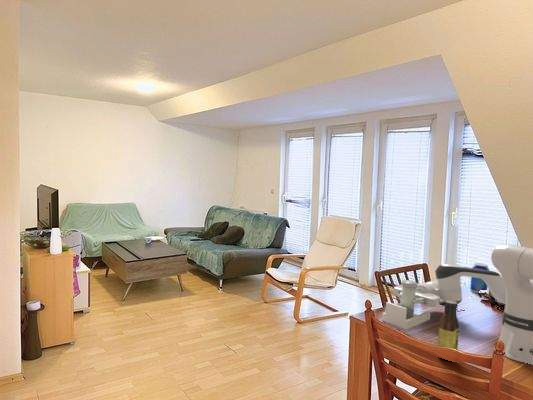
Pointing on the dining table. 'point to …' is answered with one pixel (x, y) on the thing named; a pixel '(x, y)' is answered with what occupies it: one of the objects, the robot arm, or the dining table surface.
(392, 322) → the pusher lane
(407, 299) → the jar
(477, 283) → the beer can
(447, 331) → the sauce bottle
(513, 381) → the dining table surface
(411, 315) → the pusher
